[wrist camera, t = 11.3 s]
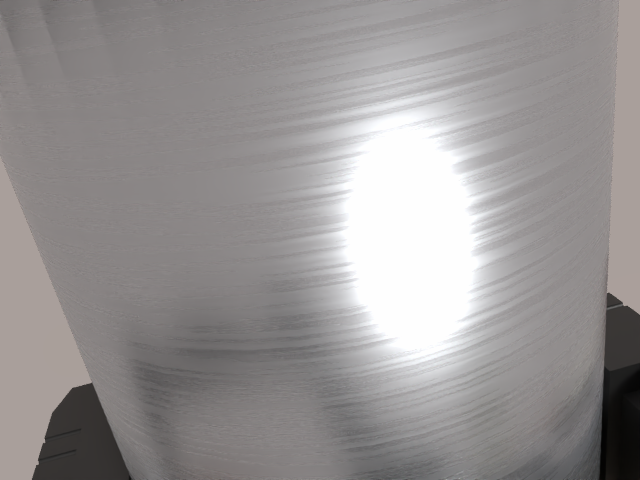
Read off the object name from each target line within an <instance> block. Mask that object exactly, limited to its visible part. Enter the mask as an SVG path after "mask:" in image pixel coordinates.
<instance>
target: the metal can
mask: <svg viewBox="0 0 640 480" xmlns="http://www.w3.org/2000/svg"><path fill="white" fill-rule="evenodd" d="M618 12H619V0H0V156H1V158H2V161H3V163H4V166H5V168H6V171H7V173H8V176H9V178H10V181H11V183H12V185H13V188H14V191H15V193H16V196H17V198H18V200H19V203H20V205H21V208H22V210H23V213H24V215H25V218H26V220H27V223H28V225H29V228H30V230H31V233H32V235H33V237H34V240H35V242H36V245H37V247H38V249H39V252H40V255H41V257H42V260H43V262H44V264H45V267H46V269H47V272H48V274H49V277H50V279H51V282H52V284H53V287H54V289H55V292H56V294H57V297H58V299H59V302H60V304H61V307H62V309H63V311H64V314H65V316H66V319H67V321H68V324H69V326H70V329H71V331H72V334H73V336H74V338H75V341H76V344H77V346H78V349H79V351H80V353H81V356H82V358H83V361H84V363H85V366H86V368H87V371H88V373H89V376H90V378H91V380H92V383H93V386H94V388H95V391H96V393H97V395H98V398H99V400H100V403H101V405H102V408H103V410H104V413H105V415H106V418H107V420H108V423H109V425H110V428H111V430H112V432H113V435H114V437H115V440H116V442H117V445H118V447H119V450H120V452H121V455H122V457H123V460H124V462H125V465H126V467H127V469H128V472H129V474H130V477H131V479H132V480H599V475H600V451H601V427H602V402H603V378H604V354H605V329H606V305H607V280H608V255H609V254H608V253H609V231H610V208H611V182H612V159H613V134H614V133H613V132H614V110H615V86H616V61H617V60H616V59H617V37H618V36H617V35H618Z"/></svg>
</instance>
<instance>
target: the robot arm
mask: <svg viewBox="0 0 640 480" xmlns="http://www.w3.org/2000/svg"><path fill="white" fill-rule="evenodd" d="M38 461H39V465H36V468H35V472H34V475H33V478H32V480H132V479H131V477H130V474H129V472H128V469H127V467H126V465H125V462H124V460H123V457H122V455H121V452H120V450H119V447H118V445H117V442H116V440H115V437H114V435H113V432H112V430H111V428H110V425H109V423H108V420H107V418H106V415H105V413H104V410H103V408H102V405H101V403H100V400H99V398H98V395H97V393H96V391H95V388H94V386H93V383H90V384H86V385H82V386H79V387H75V388H72V389H71V390H70V392H69V393H68V394H67V395H66V397H65V398H64V399H63V401H62V402H61V403H60V404H59V405H58V407H57V408H56V409H55V410H54V412H53V413H52V416H51V419H50V422H49V426H48V429H47V432H46V436H45V443H43V445H42V449H41V452H40V455H39V458H38ZM599 480H640V315H639V314H638V313H637V312H635V311H634V310H632V309H631V308H630V307H628V306H623V303H622V302H621V301H620V300H618V299H617V298H616V297H614V296H613V295H612V294H610V293H607V305H606V329H605V354H604V378H603V402H602V427H601V451H600V475H599Z"/></svg>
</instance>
